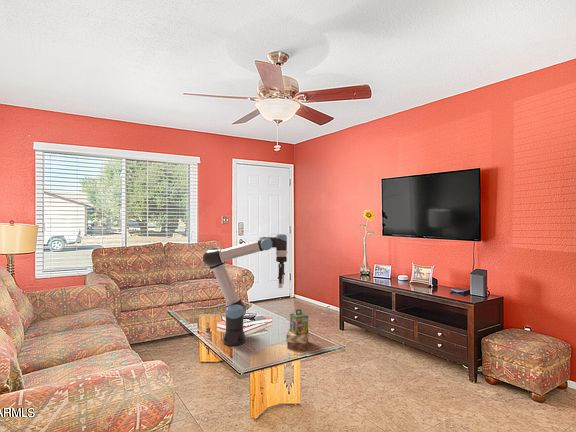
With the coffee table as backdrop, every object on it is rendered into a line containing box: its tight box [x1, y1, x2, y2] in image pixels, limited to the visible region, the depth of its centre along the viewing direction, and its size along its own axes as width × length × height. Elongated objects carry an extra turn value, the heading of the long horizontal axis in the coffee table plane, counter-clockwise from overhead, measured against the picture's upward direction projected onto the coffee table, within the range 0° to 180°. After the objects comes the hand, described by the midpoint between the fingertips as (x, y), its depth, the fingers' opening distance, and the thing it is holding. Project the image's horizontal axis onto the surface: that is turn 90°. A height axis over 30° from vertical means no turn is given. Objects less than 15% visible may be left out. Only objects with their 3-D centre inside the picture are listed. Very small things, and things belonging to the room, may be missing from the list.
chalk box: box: [289, 308, 309, 335], centre depth 231 cm, size 9×9×15 cm
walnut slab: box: [286, 339, 309, 350], centre depth 231 cm, size 13×13×4 cm
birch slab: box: [285, 328, 310, 343], centre depth 231 cm, size 13×13×4 cm
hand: (281, 286), depth 250 cm, fingers open, 13 cm apart
